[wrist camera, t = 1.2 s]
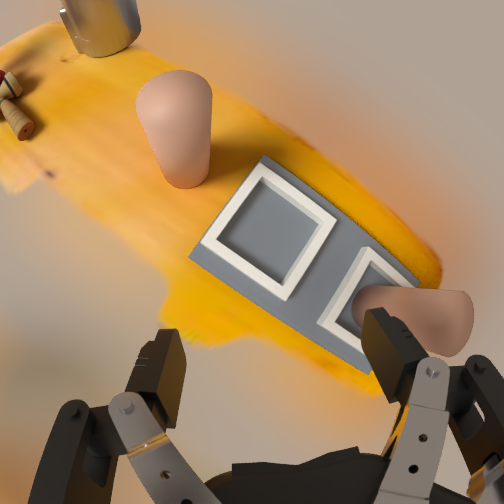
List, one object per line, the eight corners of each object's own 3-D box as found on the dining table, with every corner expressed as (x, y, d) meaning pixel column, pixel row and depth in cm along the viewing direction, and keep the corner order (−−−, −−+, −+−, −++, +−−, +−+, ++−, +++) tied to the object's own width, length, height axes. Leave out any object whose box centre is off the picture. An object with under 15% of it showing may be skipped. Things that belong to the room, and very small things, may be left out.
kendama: (57, 112, 27) (11, 66, 23) (34, 100, 21) (-9, 53, 17) (26, 158, 28) (-15, 104, 24) (0, 153, 21) (-37, 96, 18)
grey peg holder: (189, 257, 28) (168, 246, 13) (261, 159, 29) (303, 79, 15) (362, 371, 30) (442, 418, 16) (412, 281, 32) (503, 283, 17)
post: (158, 186, 28) (126, 128, 15) (168, 143, 28) (147, 69, 15) (205, 191, 28) (204, 134, 16) (213, 148, 29) (218, 73, 16)
